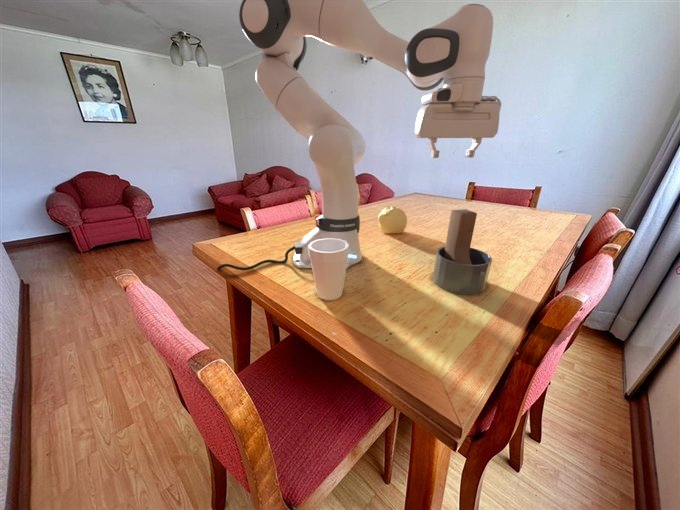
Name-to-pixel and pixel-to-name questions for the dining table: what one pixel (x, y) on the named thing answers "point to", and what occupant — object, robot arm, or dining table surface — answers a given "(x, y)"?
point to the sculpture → (392, 220)
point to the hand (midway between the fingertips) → (451, 157)
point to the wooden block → (460, 236)
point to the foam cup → (329, 266)
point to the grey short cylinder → (462, 272)
